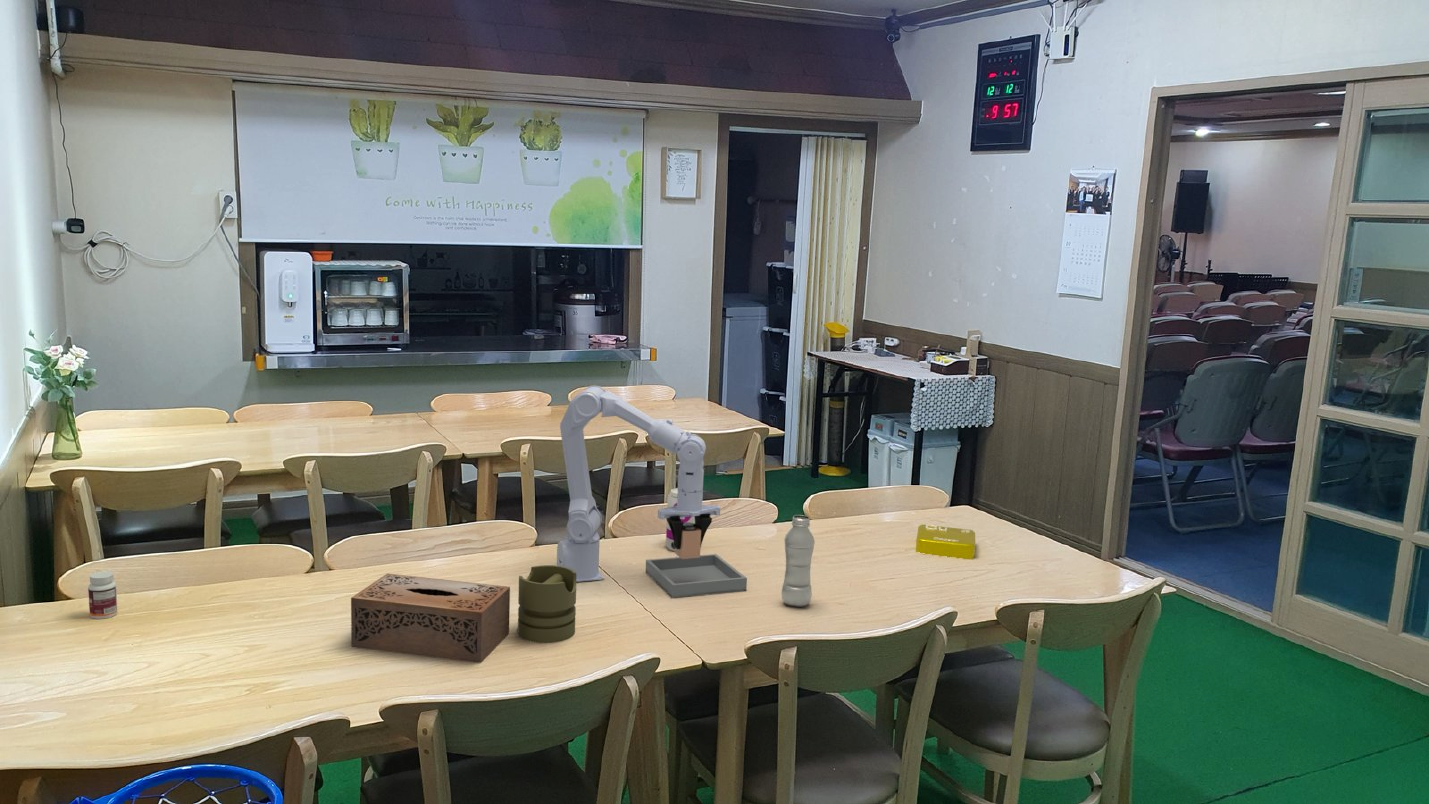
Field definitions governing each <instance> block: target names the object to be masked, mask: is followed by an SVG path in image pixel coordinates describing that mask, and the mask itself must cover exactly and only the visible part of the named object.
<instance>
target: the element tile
mask: <svg viewBox="0 0 1429 804" xmlns="http://www.w3.org/2000/svg"><path fill="white" fill-rule="evenodd" d="M915 552H916V553H917V552H920V553H925V554H932V555H931V556H933V555H939V556H938V557H942V556H947V557H946V558H950V557H956V558H955V559H959V558H963V559H962V560H974V559H975V554H976V553H975V552H976V532H975V531H974V530H973V529H966V528H959V527H958V528H957V527H949V526H940V525H933V524H920V525H918V528H917V535H916V543H915ZM925 554H924V555H925Z"/></svg>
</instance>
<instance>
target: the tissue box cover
mask: <svg viewBox="0 0 1429 804" xmlns="http://www.w3.org/2000/svg"><path fill="white" fill-rule="evenodd" d="M510 605H511V586H504V585H496V584H495V585H494V584H488V583H478V582H471V581H460V580H451V579H450V580H449V579H441V578H433V577H432V578H431V577H425V576H424V577H423V576H413V575H404V574H395V573H386V574H384V575H383V576H381V577H380V578H378V579H377V580H375V581H374V582H372V583H371V584H369V585H368V586H366V587H365V588H363V589H362V590H361V591H359V592H357V593H356V594H355V595H353V596H351V598H350V612H351V613H350V616H351V617H350V621H351V622H350V629H351V630H350V631H351V634H350V635H351V641H350V643H351V648H357V649H366V650H371V651H373V650H374V651H382V652H388V653H395V654H396V653H398V654H405V655H406V654H407V655H414V656H422V657H431V658H439V659H448V660H455V661H463V662H473V663H479V664H480V663H481V664H482V662H484V661H485V659H487V658H488V656H490V655H491V653H492V652H494V650H496V648H497V647H498V646H499V645H500V644H501V642H503V641H504V640H505V639H506V638H507V637H508V635H510V613H511V612H510V607H511V606H510Z"/></svg>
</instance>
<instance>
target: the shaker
mask: <svg viewBox="0 0 1429 804" xmlns="http://www.w3.org/2000/svg"><path fill="white" fill-rule="evenodd" d="M700 544H701V530H700V529H699V528H697V524H695V523H683V527H682V533H681V547H680V549H677V548H675V552H674V554H675V555H676V556H677V557H680V558H681V559H689V558H700V555H701V547H700ZM701 545H702V544H701Z"/></svg>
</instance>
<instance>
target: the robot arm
mask: <svg viewBox="0 0 1429 804" xmlns="http://www.w3.org/2000/svg"><path fill="white" fill-rule="evenodd" d="M600 413H601V415H600V417H601V418H606V417H618V419H621V420H623V421H625V422H627V423H629V424H630V425H632V426H635V427H636V428H638V429H640V430H642V431H644V432H646V433H647V434H648V438H649V441H651V442H652V443H654V444H656V445H658V446H659V447H661V448H663V449H664V450H666V451H668V452H669V453H672V454H674V455H676V456H677V458H678V460H679V468H678V474H677V475H678V477H677V488H678V493H677V506H674V507H669V508H667V507H665V508H658V509H657V518H658V519H659V520H665V519H666V523H667V522H668V524H669V526H670V529H671V532H672V535H673V539H674V546H675V548H677V549H680V547H681V533H682V527H683V522H682V521H681V519H680V517H690V516H694V517H695V524H697V528H699V529H700V530H701V544H700V548H701V547H702V544H703V540H704V538H705V535H706V533H707V530H708V529H709V527H710V526H711V524H712V521H713V518H712V517H711V516H720V515H721V506H719V505H718V504H715V505H714V504H713V505H711V504H710V505H708V504H703V498H704V497H703V495H704V494H703V493H704V475H705V474H704V473H705V470H704V465H705V463H704V456H705V454H706V450H707V445H706V442H705V440H704V439H703V438H702V437H700V435H699V434H695V433H692V432H691V431H690V430H687V431H686V430H684V429H682V428H680V427H678V426H677V425H675V424H673V422H674V420H672V419H670V418H667V419H665V418H658V419H654V418H652V417H651V416H650V415H648V414H646V413H645V412H643V411H641V410H640V409H639V408H636V407H635V406H634V405H632V404H630V403H629V402H627V401H626V400H625V399H623V398H621V397H620V396H618V395H617V394H615V393H614V392H612V391H609V390H606V389H604V387H602V386H599V385H590V386H588V387H586V388H585V389H584V390H583V391H580V392H579V393H577V394H576V396H574V398H572V399H571V400H570V401H569V403H568V407H567V408H566V411H565V413H564V415H563V417H562V419H561V421H560V425H559V430H560V436H561V444H562V450H563V456H564V457H563V458H564V465H565V471H566V479H567V488H568V493H569V500H570V501H569V505H568V506H569V507H568V512H567V513H568V522H567V523H566V524H567V525H566V533H567V536H568V538H567V539H563V540H559V541H557V542H558V543H557V548H556V566H562V567H567V568H570V569H572V570H574V571H575V572H576V583H577V582H578V583H580V582H590V581H601V580H604V579H605V577H604V575H603V574H602V573H601V572H600V571H599V570H600V569H599V567H600V541H601V540H600V539H601V537H600V534H599V533H598V529H599V528H600V527H601V524H602V522H603V521H602V518H603V517H602V514H601V512H600V511H599V509H598V508H597V504H596V503H597V502H596V499H595V498H594V497H593V493H592V487H591V486H592V485H591V479H590V471H589V463H588V455H587V449H586V441H585V435H584V428H585V427H587V425H588V424H589V423H590V422H591V420H593V419H594V418H596V417H597V416H598V415H599V414H600Z"/></svg>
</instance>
